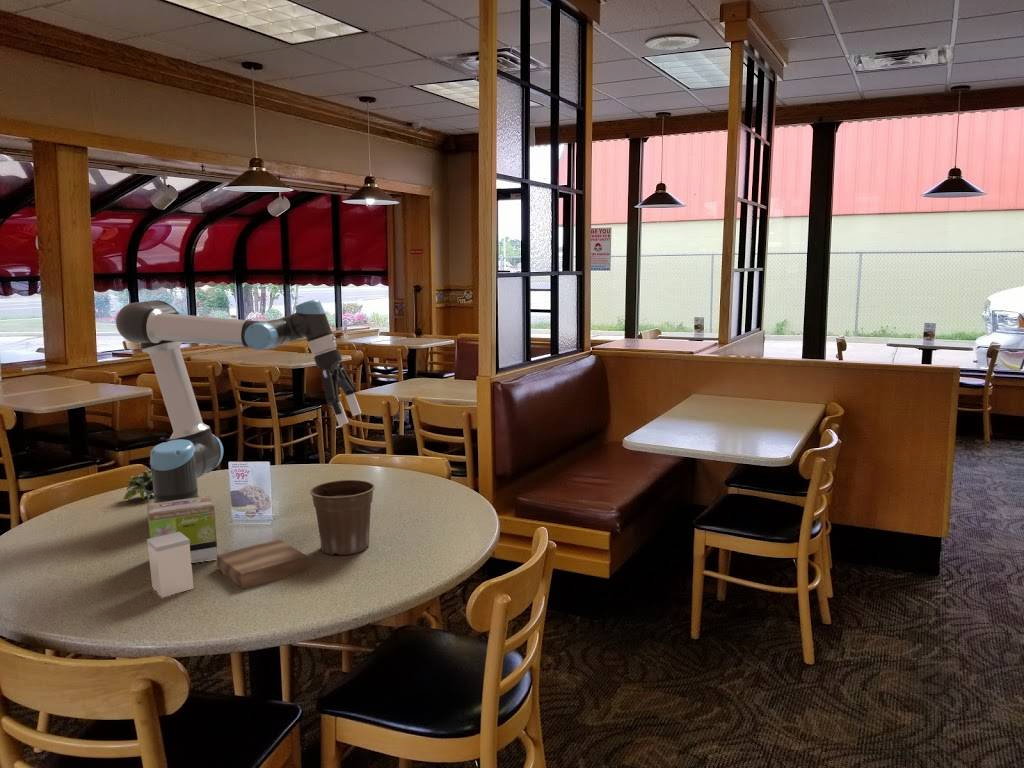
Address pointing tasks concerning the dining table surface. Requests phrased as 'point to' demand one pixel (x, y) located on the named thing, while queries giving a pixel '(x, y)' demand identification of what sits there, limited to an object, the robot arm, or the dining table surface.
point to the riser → (262, 563)
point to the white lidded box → (170, 563)
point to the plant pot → (343, 515)
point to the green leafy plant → (140, 485)
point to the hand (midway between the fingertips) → (350, 419)
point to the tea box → (187, 524)
